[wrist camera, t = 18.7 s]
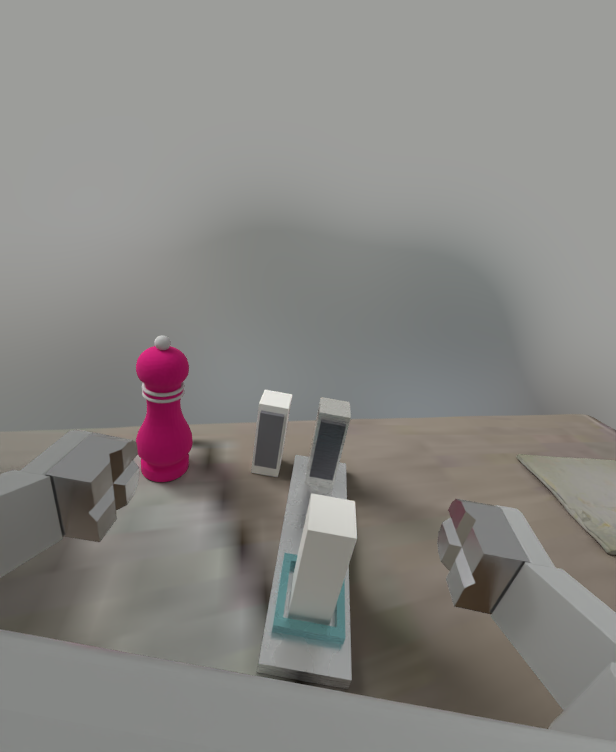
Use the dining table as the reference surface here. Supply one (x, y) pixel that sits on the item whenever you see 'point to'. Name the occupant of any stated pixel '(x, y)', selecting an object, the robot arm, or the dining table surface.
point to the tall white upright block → (322, 558)
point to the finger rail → (281, 634)
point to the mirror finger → (270, 432)
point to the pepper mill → (163, 413)
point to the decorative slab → (582, 491)
